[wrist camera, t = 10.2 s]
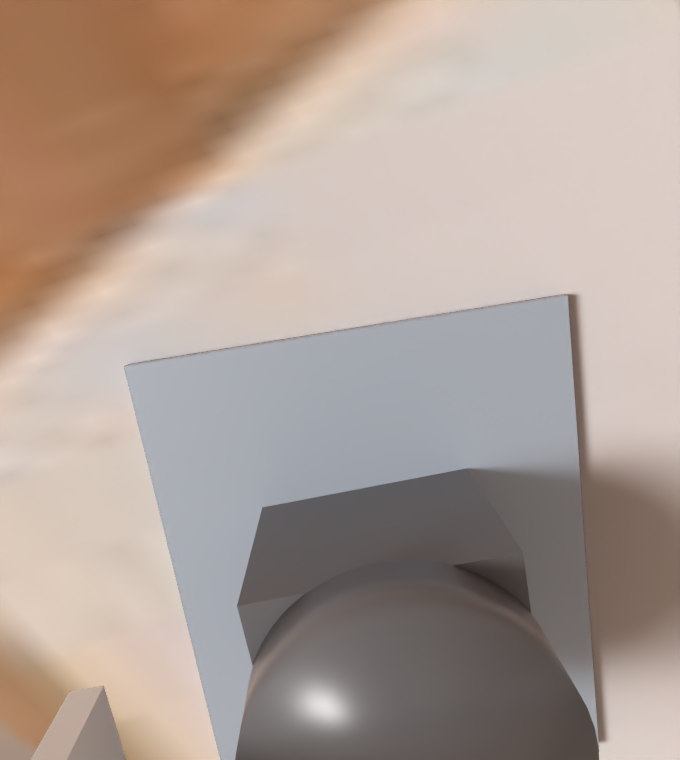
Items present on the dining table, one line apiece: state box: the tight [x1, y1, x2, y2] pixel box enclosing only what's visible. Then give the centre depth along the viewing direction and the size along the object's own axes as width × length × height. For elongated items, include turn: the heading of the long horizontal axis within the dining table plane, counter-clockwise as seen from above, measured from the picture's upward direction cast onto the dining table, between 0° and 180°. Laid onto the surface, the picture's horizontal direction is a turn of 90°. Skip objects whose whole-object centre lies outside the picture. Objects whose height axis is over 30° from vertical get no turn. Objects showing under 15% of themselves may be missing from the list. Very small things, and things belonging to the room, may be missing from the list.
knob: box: [235, 468, 599, 760], centre depth 14 cm, size 7×7×8 cm
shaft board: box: [124, 295, 599, 760], centre depth 16 cm, size 16×13×5 cm
